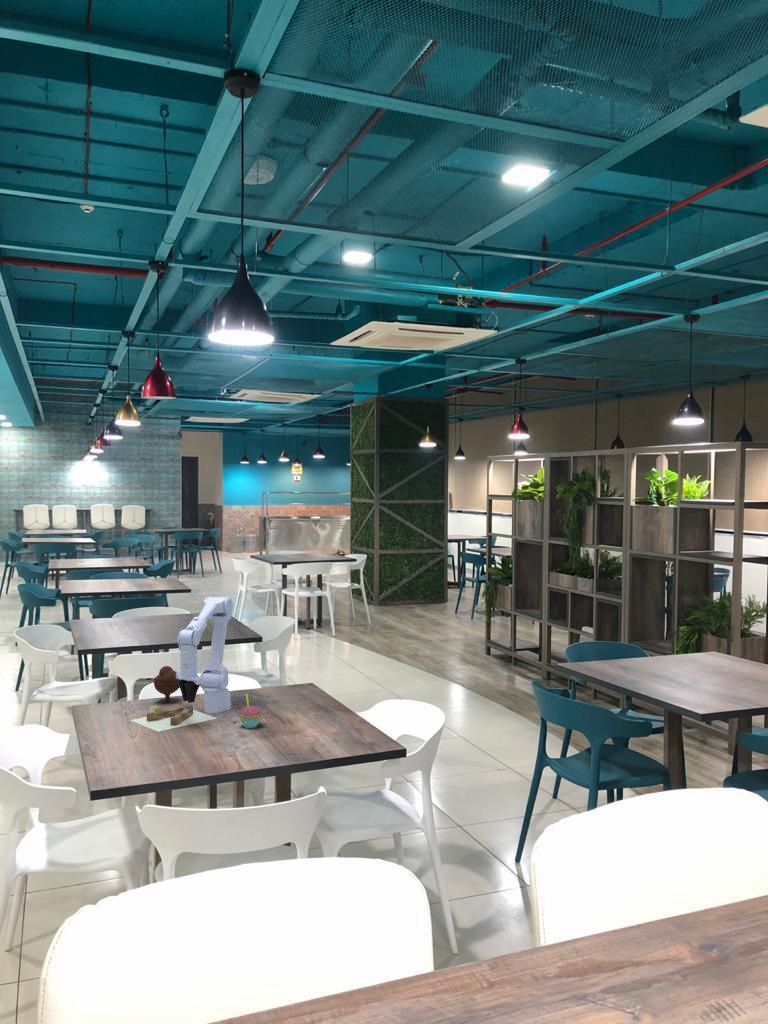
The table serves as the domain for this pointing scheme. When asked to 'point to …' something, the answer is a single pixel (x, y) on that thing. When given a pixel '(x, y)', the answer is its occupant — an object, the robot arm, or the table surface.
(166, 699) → the ice cream bowl
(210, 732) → the table surface
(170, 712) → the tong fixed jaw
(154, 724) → the serving board
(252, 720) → the cupcake
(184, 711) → the tong jaw
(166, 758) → the table surface
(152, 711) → the pale yellow rectangular block
